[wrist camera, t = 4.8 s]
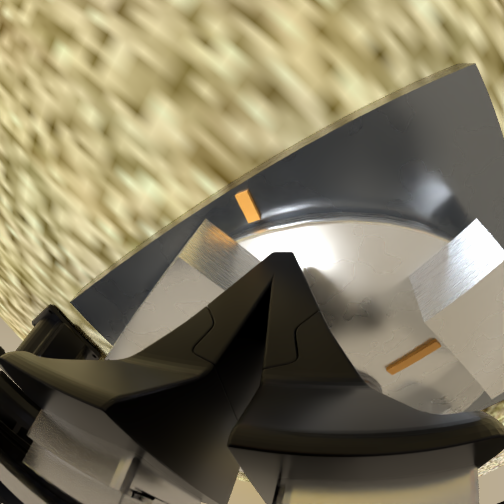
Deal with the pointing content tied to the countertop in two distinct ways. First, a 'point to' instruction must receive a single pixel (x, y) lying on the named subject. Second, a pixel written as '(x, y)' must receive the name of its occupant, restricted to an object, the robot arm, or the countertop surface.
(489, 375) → the slotted metal disc
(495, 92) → the countertop surface
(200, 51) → the countertop surface
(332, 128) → the base plate
